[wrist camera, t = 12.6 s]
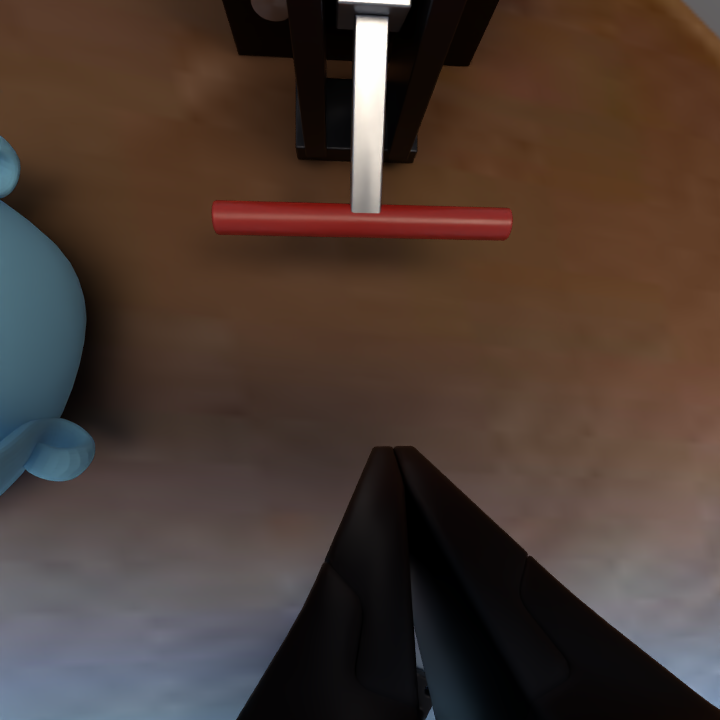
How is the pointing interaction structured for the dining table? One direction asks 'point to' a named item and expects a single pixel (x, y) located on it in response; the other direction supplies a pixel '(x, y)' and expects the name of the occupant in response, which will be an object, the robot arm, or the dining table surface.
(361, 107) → the lever
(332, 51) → the toaster
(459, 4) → the lever bracket
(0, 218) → the decorative pot
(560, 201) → the dining table surface
